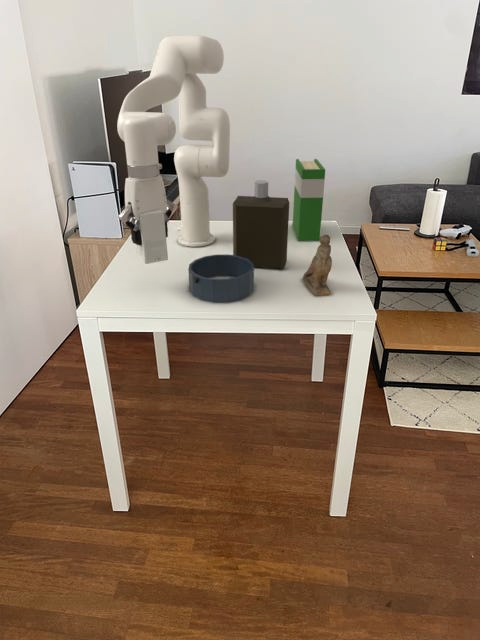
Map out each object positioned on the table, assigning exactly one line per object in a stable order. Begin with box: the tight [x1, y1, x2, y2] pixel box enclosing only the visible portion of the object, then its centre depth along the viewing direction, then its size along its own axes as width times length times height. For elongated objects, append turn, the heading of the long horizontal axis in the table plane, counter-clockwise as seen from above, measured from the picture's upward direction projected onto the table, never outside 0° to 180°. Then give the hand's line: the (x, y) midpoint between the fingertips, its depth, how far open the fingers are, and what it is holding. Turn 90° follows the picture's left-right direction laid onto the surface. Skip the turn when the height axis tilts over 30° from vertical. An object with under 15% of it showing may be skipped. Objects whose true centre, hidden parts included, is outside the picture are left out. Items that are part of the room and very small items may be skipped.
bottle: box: [232, 179, 290, 270], centre depth 140 cm, size 8×16×25 cm, turn 80°
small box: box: [134, 210, 169, 265], centre depth 124 cm, size 8×6×13 cm
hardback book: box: [292, 158, 326, 242], centre depth 166 cm, size 18×7×24 cm, turn 1°
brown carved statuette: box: [302, 234, 333, 297], centre depth 127 cm, size 12×6×18 cm, turn 6°
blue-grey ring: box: [187, 253, 255, 304], centre depth 130 cm, size 18×20×6 cm
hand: (150, 239), depth 125 cm, fingers closed on small box, 7 cm apart
